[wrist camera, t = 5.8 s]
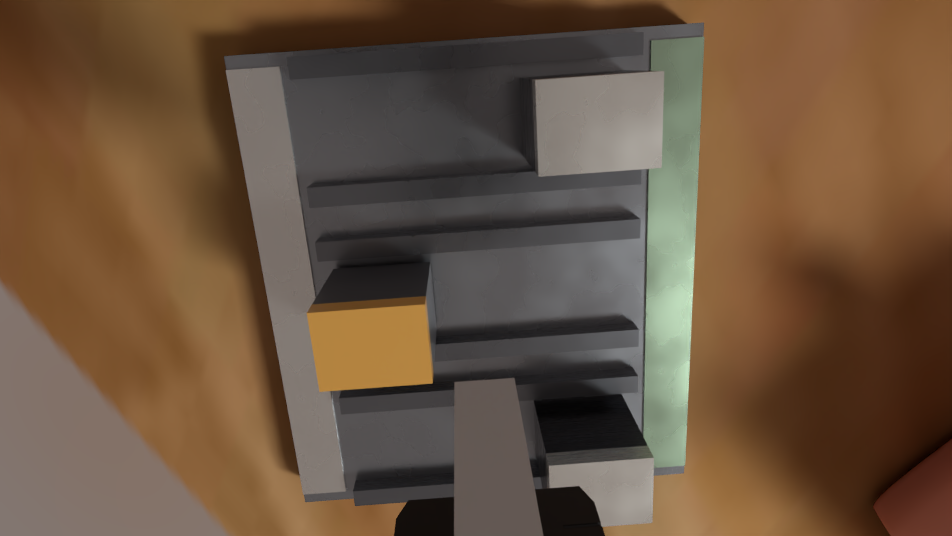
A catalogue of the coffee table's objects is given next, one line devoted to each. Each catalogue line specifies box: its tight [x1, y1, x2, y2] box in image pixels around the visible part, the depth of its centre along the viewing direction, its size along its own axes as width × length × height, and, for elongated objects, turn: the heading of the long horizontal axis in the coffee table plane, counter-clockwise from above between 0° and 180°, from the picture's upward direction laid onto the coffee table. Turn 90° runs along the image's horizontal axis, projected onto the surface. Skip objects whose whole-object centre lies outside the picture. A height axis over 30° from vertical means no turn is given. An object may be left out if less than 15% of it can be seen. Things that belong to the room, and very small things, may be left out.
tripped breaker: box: [307, 262, 437, 392], centre depth 24 cm, size 3×4×5 cm
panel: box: [224, 23, 704, 527], centre depth 25 cm, size 20×18×6 cm
